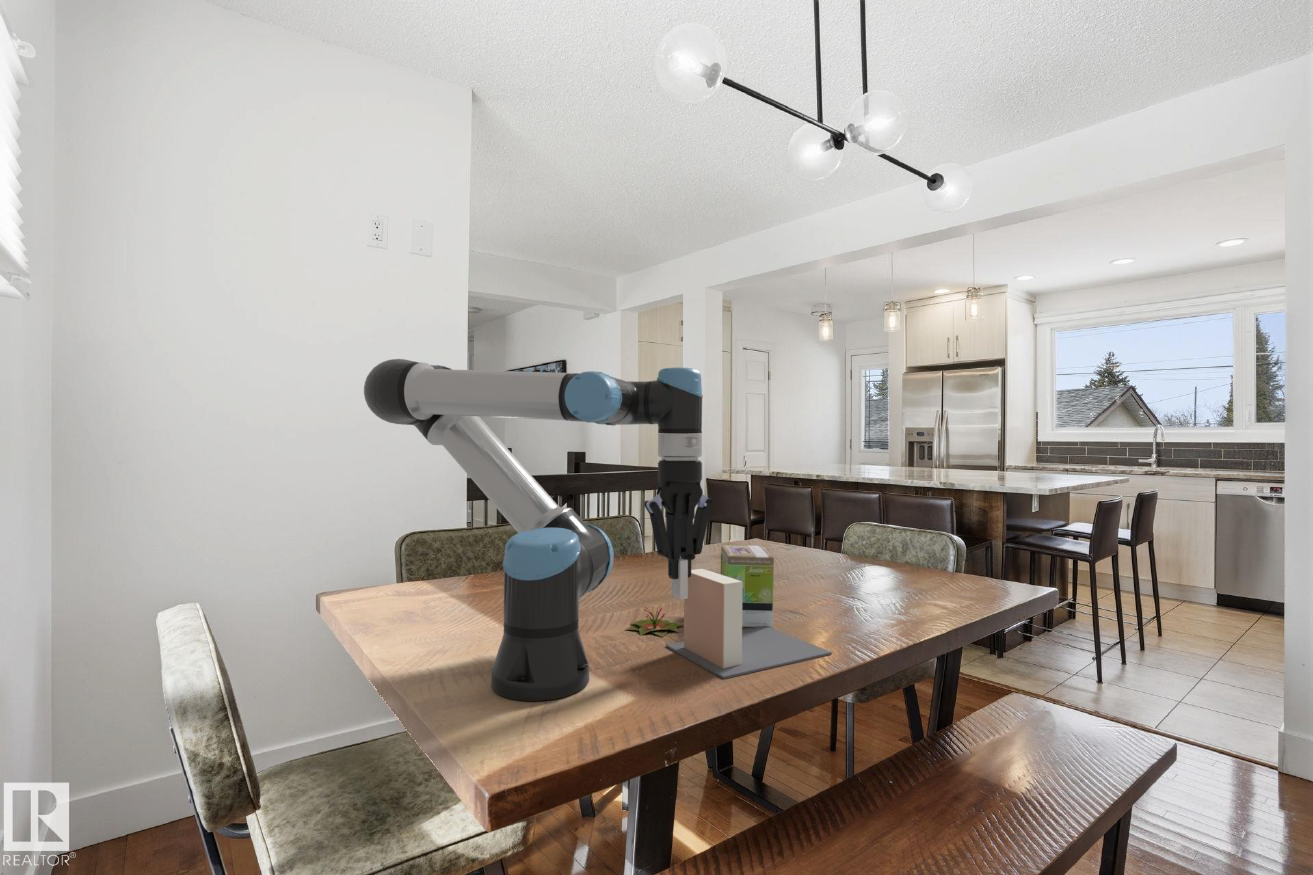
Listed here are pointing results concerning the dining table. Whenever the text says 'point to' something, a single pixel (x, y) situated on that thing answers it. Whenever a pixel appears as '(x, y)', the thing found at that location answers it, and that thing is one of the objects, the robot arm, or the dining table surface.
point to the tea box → (751, 581)
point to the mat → (759, 652)
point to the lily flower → (654, 624)
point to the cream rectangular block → (714, 618)
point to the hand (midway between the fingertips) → (679, 597)
